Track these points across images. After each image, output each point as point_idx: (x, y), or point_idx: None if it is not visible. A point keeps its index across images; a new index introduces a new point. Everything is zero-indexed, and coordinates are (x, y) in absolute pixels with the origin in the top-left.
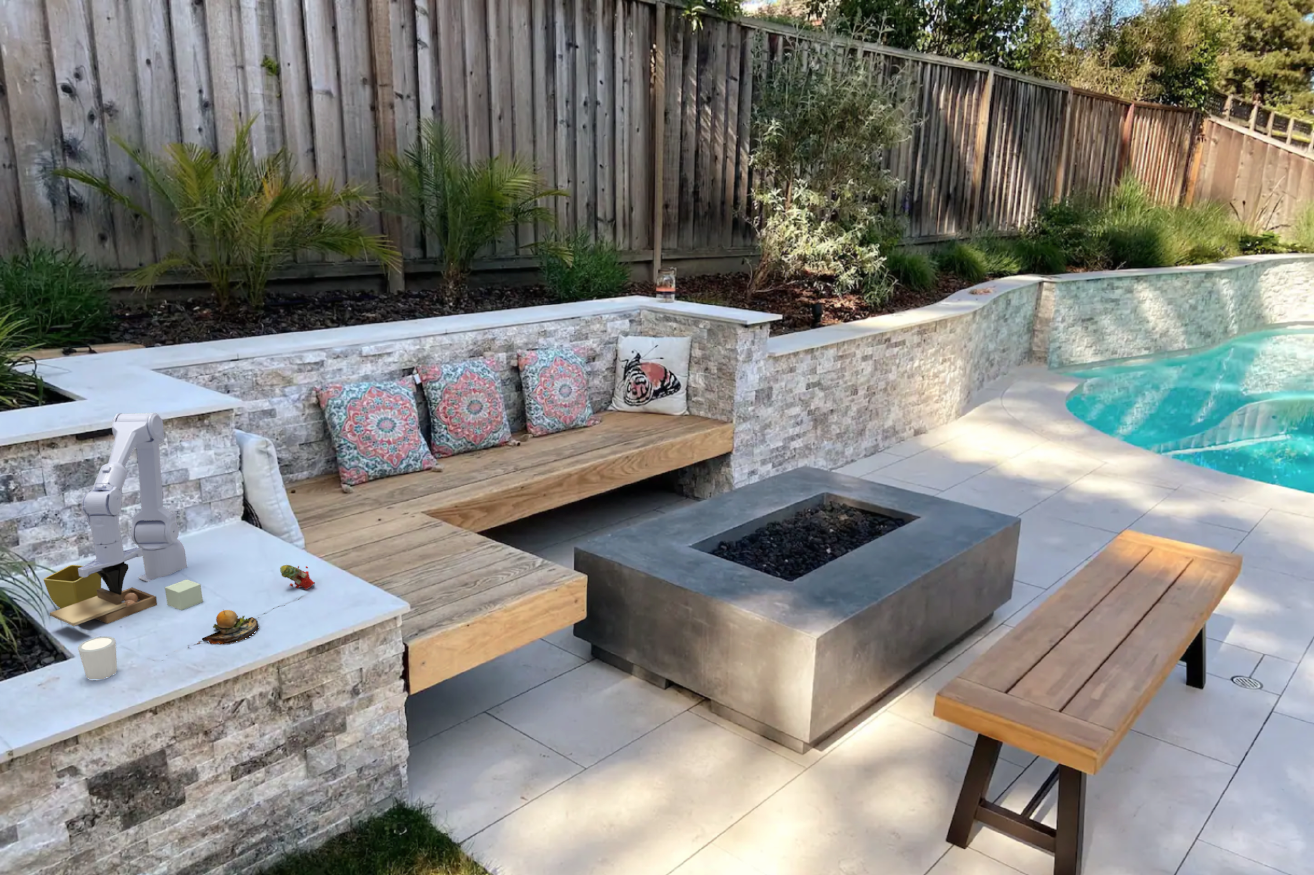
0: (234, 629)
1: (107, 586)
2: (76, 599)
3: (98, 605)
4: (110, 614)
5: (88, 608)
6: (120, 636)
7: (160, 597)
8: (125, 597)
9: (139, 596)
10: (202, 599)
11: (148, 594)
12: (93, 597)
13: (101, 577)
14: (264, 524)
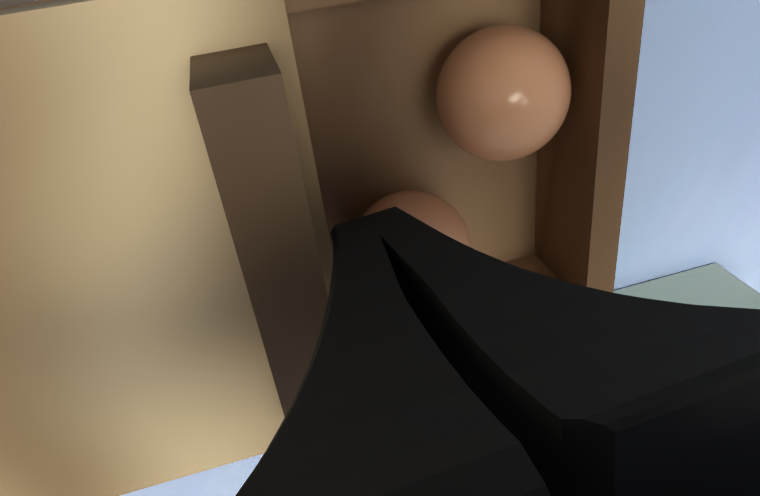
0: None
1: (330, 286)
2: None
3: (134, 320)
4: None
5: (8, 339)
6: (206, 480)
7: (700, 23)
8: (466, 114)
9: (572, 110)
10: None
11: (607, 242)
12: (135, 6)
13: (293, 405)
14: None
